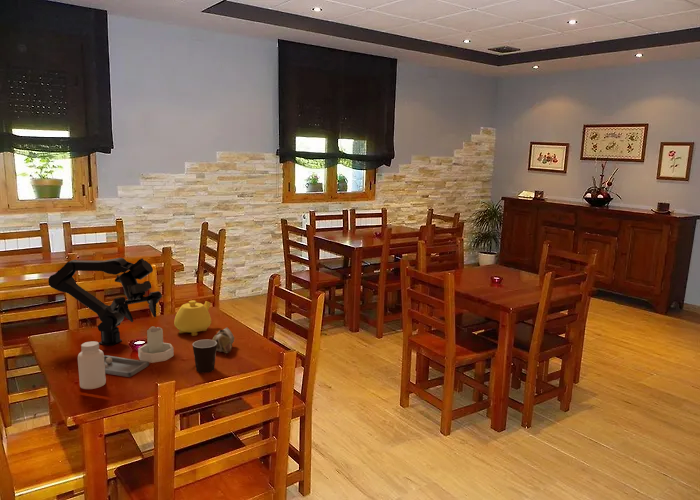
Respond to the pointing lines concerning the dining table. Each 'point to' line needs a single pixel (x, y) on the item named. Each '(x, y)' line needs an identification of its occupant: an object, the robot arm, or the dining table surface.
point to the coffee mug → (204, 355)
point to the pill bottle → (91, 366)
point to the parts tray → (123, 366)
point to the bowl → (155, 357)
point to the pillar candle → (155, 340)
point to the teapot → (193, 317)
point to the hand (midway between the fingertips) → (144, 319)
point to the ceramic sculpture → (224, 340)
